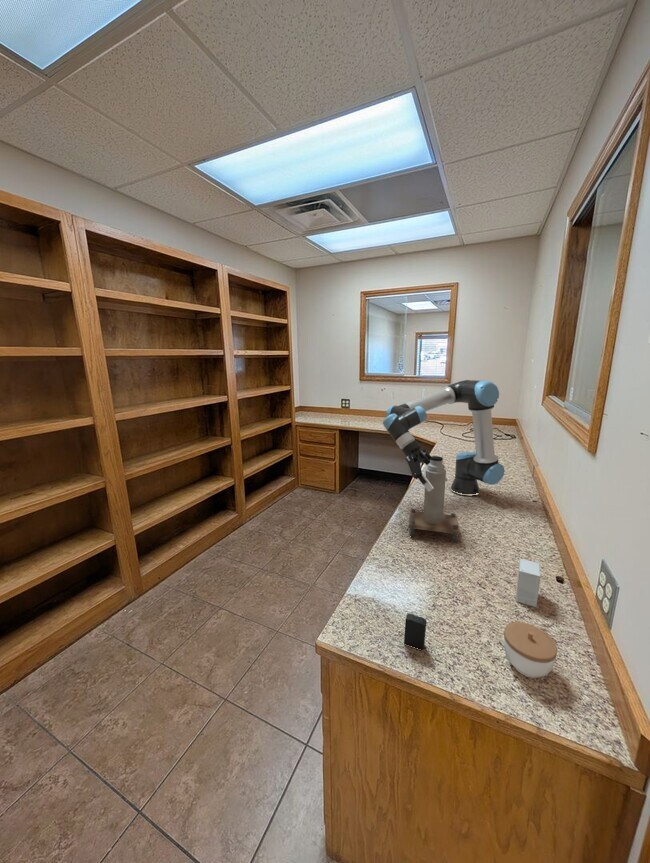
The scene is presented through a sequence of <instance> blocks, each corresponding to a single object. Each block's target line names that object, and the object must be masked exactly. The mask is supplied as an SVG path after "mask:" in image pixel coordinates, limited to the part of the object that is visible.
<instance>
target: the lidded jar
mask: <svg viewBox="0 0 650 863" xmlns="http://www.w3.org/2000/svg"><path fill="white" fill-rule="evenodd" d="M503 649H504V652H505V655H506V657H507V659H508V661H509V663H511V666H513V668H514V669H515V670H516V671H517V672H518V673H519V672H520V673H519V674H521V675H522V674H523V676H524V675H525V676H524V677H526V676H527V678H529V677H530V678H531V679H538V678H543V677H545V676H547V675H548V674H549V673H551V671H552V670H553V668H554V666H555V663H556V658H557V655H558V647H557V644H556V642H555V640H553V638H552V637H551V636H550V635H549V634H548V633H546V631H544V630H543V629H541V628H539V627H537V626H535V625H533V624H530V623H527V622H523V621H522V622H521V621H514V622H513V621H512V622H510V623H508V624H506V625H505V627H504V630H503Z"/></svg>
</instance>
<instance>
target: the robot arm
mask: <svg viewBox="0 0 650 863" xmlns="http://www.w3.org/2000/svg"><path fill="white" fill-rule="evenodd" d="M499 398H500V391H499V388H498V386H497V385H496V384H495V382H492V381H487V380H476V379H475V380H473V379H471V380H470V379H465V380H460V381H457V382H455V383H454V382H453V383H451V384H448V385H446V386H444V387H442V389H440V390H438V391H435V392H433V393H430V394H427V395H425V396H421V397H418V398H417V399H413V400H411V401H408V402H406V403H402V404H400V405H391V406H389V407H388V408H387V410H386V417H385V418H384V419H383V421H382V425H383V427H384V428H385V430H386V431H387V432H388V434H389V435H390V436H391V438H393V441H394V442H395V444H397V446H398V447H399V449H400V450H401V449H402V450H401V451H402V453H403V454H404V456H405V460H406V462H407V464H408V467H409V470H410V473H411V475H412V478H413V479H415V480H419V482H420V483H421V484H422V485H423V487H424V489H425V488H426V489H427V491H428V492H429V491H431V490H432V489H433V486H432V485H431V483H430V482H429V481H428V479H427V478H426V474H423V473H422V472H423V471H422V467H421V466H422V465H421V464H425V465H427V466H428V464H429V463H430V460H431V459H430V457H432V456H433V455H430V454H429V453H428V452H427V450H426V449H423V450H420V449H421V445H420V444H419V443H418V441H417V440H415V439H416V438H415V437H414V436H413V435H412V433H411V432H410V431H409V430H410V429H413V428H414V427H416V426H418V425H420V424H422V423H423V422H424V421H426V420H427V418H428V417H427V416H428V415H427V412H429V411H431V410H434V409H437V408H439V407H442V406H444V405H447V404H448V405H452V404H455V403H464V404H467V407H468V411H470V412H471V416H472V424H473V436H474V444H475V452H474V451H462V452H458V453H457V455H456V459H455V472H454V479H453V480H452V483H451V484H450V490H451V489H452V490H453V491H455V492H458V493H462V494H476V493H479V494H480V492H479V491H480V487H479V482H478V481H480V482H483V483H484V484H488V485H496V484H498V483H499V482H500V481H501V480H502V479H503V477H504V475H505V471H506V470H505V466H504V465H502V463H499V457H498V455H496V454H495V442H494V431H493V430H494V429H493V428H494V427H493V418H492V410H493V409H494V408H495V405H496V404H497V402H498V400H499ZM448 481H449V478H448V477H447V476H446V480H445V483H446V482H448Z"/></svg>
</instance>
